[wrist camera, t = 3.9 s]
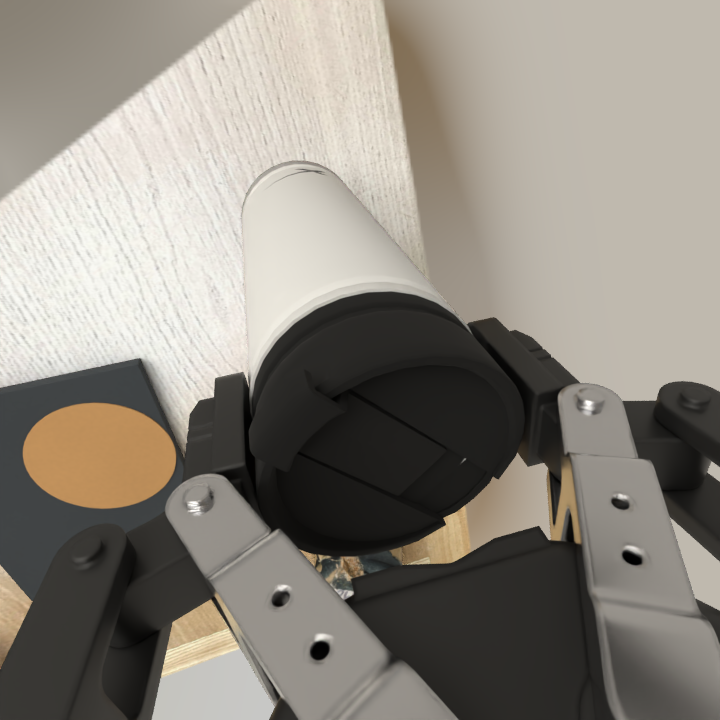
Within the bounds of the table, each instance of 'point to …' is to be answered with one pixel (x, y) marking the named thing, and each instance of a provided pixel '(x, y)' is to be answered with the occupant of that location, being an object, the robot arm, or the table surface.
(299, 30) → the table surface
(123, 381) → the mat
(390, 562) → the rock
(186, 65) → the table surface
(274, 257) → the travel mug
